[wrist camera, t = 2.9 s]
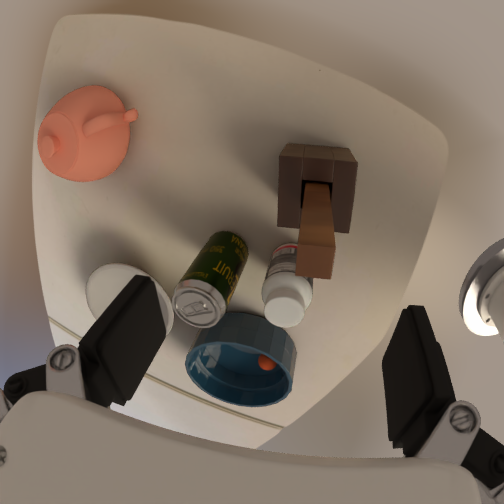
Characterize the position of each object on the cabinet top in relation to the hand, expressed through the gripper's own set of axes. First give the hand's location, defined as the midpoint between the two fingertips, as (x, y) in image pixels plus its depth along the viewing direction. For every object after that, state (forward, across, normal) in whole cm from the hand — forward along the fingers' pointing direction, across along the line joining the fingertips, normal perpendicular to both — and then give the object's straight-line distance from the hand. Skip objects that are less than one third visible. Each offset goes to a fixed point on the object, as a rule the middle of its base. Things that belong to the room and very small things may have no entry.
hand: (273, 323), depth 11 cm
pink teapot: (+24, +25, -5) cm, 35 cm away
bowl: (+24, +6, +29) cm, 38 cm away
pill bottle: (+24, +1, +12) cm, 27 cm away
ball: (+22, +3, +29) cm, 36 cm away
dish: (+24, +24, +20) cm, 39 cm away
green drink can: (+24, +8, +11) cm, 28 cm away
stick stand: (+24, -1, +1) cm, 24 cm away
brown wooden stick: (+24, -2, +1) cm, 24 cm away
